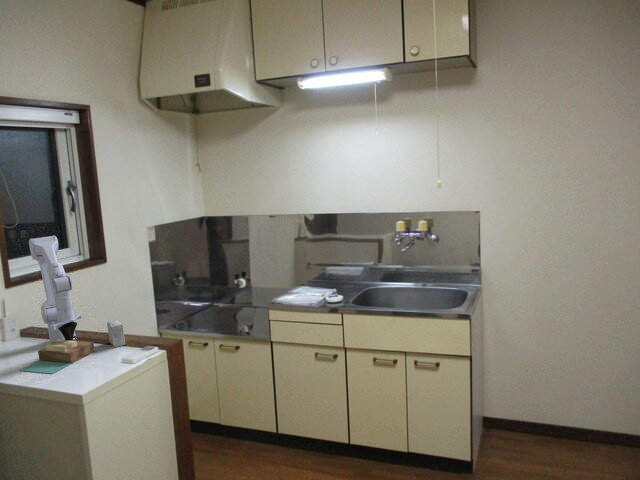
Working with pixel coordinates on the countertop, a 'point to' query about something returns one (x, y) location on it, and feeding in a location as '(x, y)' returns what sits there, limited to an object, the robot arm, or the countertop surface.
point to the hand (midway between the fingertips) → (69, 341)
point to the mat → (45, 367)
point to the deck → (67, 353)
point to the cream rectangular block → (61, 345)
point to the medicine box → (116, 333)
